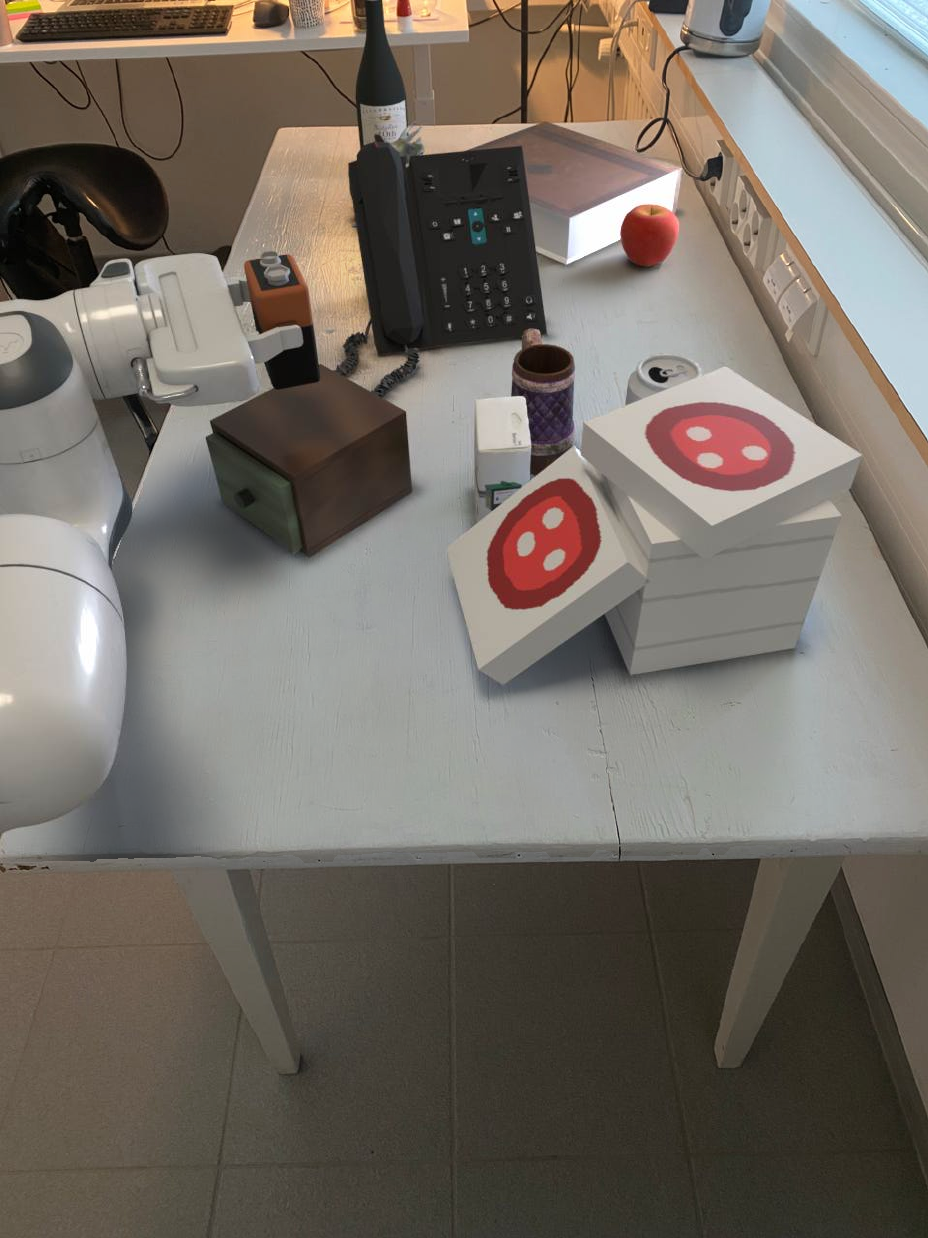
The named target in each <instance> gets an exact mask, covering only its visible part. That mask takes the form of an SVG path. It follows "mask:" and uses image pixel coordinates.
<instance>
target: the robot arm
mask: <svg viewBox="0 0 928 1238" xmlns="http://www.w3.org/2000/svg"><path fill="white" fill-rule="evenodd" d="M219 261H220V260H219V259H218V257H217V256H215V255H212V254H207V253H201V252H191V253H183V254H182V253H181V254H174V255H172V254H171V255H165V256H157V257H152V258H147V259H143V260H141V261H139V262H138V263H136V264H135V266H134V267H133V263H132V261H131V259H129V258H119V259H118V258H116V259H111V260H109V261H107V262H105V264H104V266H103V268H102V270H101V271H100V273H99V274H98V276H97V277H96V279H95V280H93V281H92V282H91V283H90V284H89V286H88V287H84V288H83V287H82V288H77V289H71V290H68V291H66V292H63V293H62V294H60V295H57V296H55V297H51V298H48V299H40V300H34V299H25V298H17V299H16V298H15V299H9V300H5V301H0V836H1V835H3V834H4V833H6V832H9V831H11V830H15V829H16V830H17V829H20V828H28V827H33V826H37V825H41V824H46V823H49V822H51V821H55V820H57V819H59V818H61V817H63V816H66V815H68V814H69V813H71V812H72V811H74V810H76V809H77V808H79V807H81V806H82V805H83V804H85V803H86V802H87V801H89V800H90V798H92V797H93V795H94V794H96V792H97V791H98V790H99V789H100V788H101V786H102V785H103V784H104V783H105V781H106V780H107V778H108V777H109V774H110V772H111V771H112V767H113V766H114V762H115V759H116V755H117V751H118V745H119V741H120V737H121V733H122V727H123V726H122V725H123V719H124V718H123V717H124V712H125V701H126V690H127V666H128V665H127V661H128V660H127V658H128V657H127V645H126V644H127V642H126V631H125V620H124V613H123V607H122V601H121V598H120V594H119V590H118V587H117V583H116V580H115V577H114V575H113V562H114V557H115V553H116V552H117V548H118V546H119V543H120V542H121V540H122V539H123V537H124V535H125V533H126V531H127V529H128V528H129V525H130V523H131V521H132V518H133V509H134V507H133V506H134V505H133V501H132V499H131V496H130V494H129V492H128V489H127V487H126V485H125V482H124V480H123V478H122V476H121V474H120V472H119V470H118V468H117V465H116V462H115V460H114V456H113V454H112V451H111V448H110V445H109V442H108V439H107V436H106V433H105V430H104V428H103V425H102V422H101V419H100V416H99V412H98V411H97V409H96V406H95V403H94V400H95V401H103V400H110V399H116V398H120V397H125V396H129V395H130V396H131V395H135V394H138V395H139V396H140V397H142V398H144V399H148V400H150V401H153V402H155V403H156V404H167V403H168V404H170V405H172V406H175V407H182V408H183V407H184V408H185V407H187V408H188V407H190V408H191V407H202V406H212V405H222V404H227V403H228V404H229V403H236V402H242V401H245V400H249V399H250V398H252V397H253V396H255V395H256V394H257V393H258V392H259V391H260V384H259V377H258V373H257V368H256V364H262V363H263V364H264V362H266V361H268V360H270V359H271V358H273V357H274V356H276V355H278V354H279V353H281V352H282V351H283V350H286V349H291V348H297V347H300V346H302V344H303V336H302V330H301V328H300V326H299V324H298V322H297V321H295V320H291V321H285V322H279V323H277V327H276V328H274V329H272V330H269V331H267V332H264V333H262V334H259V332H258V331H256V330H255V331H250V332H245V331H244V327H243V325H242V323H241V319H240V317H239V314H238V311H237V308H236V307H241V306H244V304H245V303H251V301H250V295H249V290H248V285H247V280H246V276H245V277H244V276H238V275H237V276H231V277H225V275H224V272H223V269H222V267H221V264H220V262H219Z"/></svg>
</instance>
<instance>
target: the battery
mask: <svg viewBox="0 0 928 1238" xmlns="http://www.w3.org/2000/svg"><path fill="white" fill-rule="evenodd" d="M259 255H260V258H254V259H249V260H245V262H244V264H243V268H244V274H245V277H246V280H247V285H248V290H249V295H250V301H251V302H250V304H251V305H250V306H251V311H252V316H253V321H254V327H255V331H258V332H259V334H262V333H264V332H267V331H269V330H272V329H274V328H276V327H277V323H279V322H285V321H291V320H295V321H297V322H298V324H299V326H300V328H301V330H302V336H303V344H302V346H300V347H297V348H291V349H286V350H283V351H282V352H281V353H279V354H278V355H276V356H274V357H273V358H271V359H270V360H268V361H266V362H263V364H264V368H265V370H266V373H267V375H268V379H269V381H270V384H271V387H272V388H274V389H276V390H280V389H285V388H290V387H296V386H301V385H306V384H311V383H316V382H319V381H320V378H321V376H320V368H319V364H320V361H319V354H318V349H317V347H318V346H317V340H316V335H315V334H316V333H315V325H314V320H313V312H312V306H311V304H312V303H311V299H310V298H311V297H310V291H309V287H308V284H307V282H306V280H305V278H304V276H303V273H302V271H301V270H300V267H299V266H298V264H297V261H296V259H295V258H294V256H293V255H292V254H290V253H285V254H279V252H277V251H276V250H265V251H263V252H262V253H260V254H259Z"/></svg>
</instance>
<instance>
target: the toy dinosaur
mask: <svg viewBox="0 0 928 1238" xmlns="http://www.w3.org/2000/svg"><path fill="white" fill-rule="evenodd" d="M414 125H416V120H414V121H413V122H412V123H411V124H410V125H408V127H407V128H406V129H405V130H404V131H403V132H402V133H401V135H400V138H399V139H398V140H397V141H395V142H392V143H390V142H388V141H386V140H385V139H384V138H383V137H382V135H380V134H378V133H377V134H375V133H374V135H375V136H374V138H375V141H376V142H387V143H390V144H391V145H392V146H393V147H394V148H395V149H396V150H397V151H398V152H399V153H400V156H402V157H405V163H406V164H408V163H409V161H410V156H417V155H425V146H424V145H423V143H422V137H421V136H419V137H418V138H417V139H416V140H415V141H413V142H411V141H412V140H413V139H414V138H415V136H417V135H418V134H419V133H420V131H422V128H423V124H420V125H419V127H418V128H417V129H416V130H414V131H412V132H411V133H410V134H409V135H408V136H407V137H406V135H407V133H409V132H410V131H411V130H412V128H413V126H414ZM405 138H406V139H405ZM348 185H349V187H348V188H349V195H350V198H351V199H352V195H351V189H350V182H349V181H348ZM353 221H355V217H354V218H353ZM350 227H351V228H354V229H357V227H356V223H353V224H352V225H351V226H350Z"/></svg>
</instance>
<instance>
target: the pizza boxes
mask: <svg viewBox="0 0 928 1238" xmlns="http://www.w3.org/2000/svg"><path fill="white" fill-rule="evenodd" d="M862 458H863V454H862V453H860V452H859V451H857V450H856V449H854V448H853V447H851V446H849V445H848V444H847V443H845V442H843V441H842V440H840V439H839V438H838V437H835V436H834V435H832V434H831V433H829V432H828V431H826V430H825V429H823V428H821V427H820V426H818V425H817V424H815V423H814V422H812V421H811V420H809V419H808V418H806V417H804V416H803V415H802V414H800V413H798V412H797V411H795V410H794V409H792V408H791V407H789V406H787V404H784V403H783V402H781V401H780V400H779V399H777V398H776V397H774V396H772V395H771V394H769V393H768V392H766V391H764V390H763V389H761V388H760V387H759V386H757V385H756V384H754V383H753V382H751V381H749V380H748V379H746V378H744V377H743V376H741V375H740V374H738V373H737V372H735V371H734V370H732V369H730V368H729V367H727V366H723V367H720V368H717V369H714V370H712V371H709V372H707V373H705V374H702V376H699V377H697V378H694V379H692V380H689V381H687V382H684V383H682V384H679V385H677V386H674V387H672V388H669V389H666V390H664V391H661V392H659V393H656V394H654V395H651V396H649V397H646V398H644V399H641V400H639V401H636V402H634V403H631V404H628V405H626V406H625V405H624V406H621V407H619V408H615V409H614V410H611V411H608V412H606V413H604V414H601V415H598V416H596V417H594V418H591V419H588V420H586V421H583V423H582V435H581V447H580V450H579V449H578V448H577V447H576V446H575V445H572V448H571V449H569V450H568V451H567V452H566V453H564V454H563V455H562V456H561V457H559V458H558V459H557V460H556V461H554V462H553V463H552V464H551V465H549V466H548V467H547V468H546V469H544V470H543V471H542V472H541V473H537V474H536V476H534V477H533V478H531V480H529V482H528V483H527V484H526V485H524V486H523V487H522V488H521V489H519V490H518V491H517V492H516V493H514V494H513V495H512V496H511V497H509V498H508V499H507V500H506V501H504V502H503V503H502V504H501V505H499V506H498V507H497V508H496V509H494V510H493V511H492V512H491V513H489V514H488V515H487V516H486V517H484V518H483V519H482V520H481V521H479V522H478V523H477V522H476V523H475V524H474V525H473V526H471V528H469V529H468V530H467V531H466V532H464V533H463V534H462V535H461V536H458V538H457V539H455V540H454V541H453V542H452V543H451V544H449V545H448V546H447V547H446V548H445V549H446V554H447V558H448V561H449V564H450V568H451V573H452V575H453V581H454V584H455V587H456V590H457V595H458V598H459V602H460V606H461V610H462V612H463V616H464V620H465V624H466V628H467V632H468V636H469V639H470V642H471V646H472V651H473V654H474V658H475V661H476V665H477V669H478V671H480V672H481V673H483V674H485V676H486V675H487V676H488V677H490V678H491V679H492V680H494V681H496V682H497V683H499V684H501V685H502V686H503V685H505V684H506V683H508V682H509V681H511V680H513V679H514V678H515V677H516V676H519V674H521V673H522V672H524V671H525V670H526V669H529V667H531V666H533V665H534V664H535V663H536V662H538V661H539V660H541V659H543V658H544V657H545V656H547V655H548V654H549V653H551V652H552V651H553V650H555V649H556V648H558V647H559V646H560V645H562V644H564V643H565V642H567V641H568V640H569V639H571V638H572V637H573V636H575V635H576V634H578V633H579V632H580V631H582V630H583V629H585V628H587V627H588V626H589V625H590V624H592V623H594V622H595V621H596V620H598V619H599V618H600V617H602V616H603V615H604V616H605V618H606V620H607V623H608V625H609V628H610V631H611V633H612V635H613V638H614V641H615V642H616V645H617V646H618V647H617V648H618V649H619V652H620V654H621V657H622V659H623V661H624V664H625V666H626V669H627V671H628V674H629V676H634V675H635V676H636V675H639V674H647V673H652V672H658V671H659V672H660V671H664V670H670V669H677V668H682V667H688V666H694V665H700V664H707V663H713V662H721V661H725V660H730V659H731V660H732V659H736V658H743V657H749V656H755V655H760V654H768V653H773V652H779V651H784V650H786V651H787V650H792V649H796V647H797V645H798V641H799V638H800V635H801V632H802V629H803V626H804V624H805V621H806V619H807V615H808V613H809V609H810V607H811V604H812V601H813V598H814V595H815V593H816V590H817V586H818V584H819V581H820V578H821V576H822V573H823V570H824V567H825V564H826V562H827V559H828V556H829V553H830V550H831V547H832V545H833V541H834V539H835V536H836V534H837V530H838V527H839V524H840V522H841V519H842V513H840V512H839V510H838V509H837V507H836V506H835V505H834V503H833V502H832V500H831V499H832V498H834V497H836V496H838V495H840V494H843V493H844V492H846V491H849V490H850V489H851V488H852V485H853V483H854V479H855V478H856V474H857V471H858V469H859V466H860V463H861V460H862Z"/></svg>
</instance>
